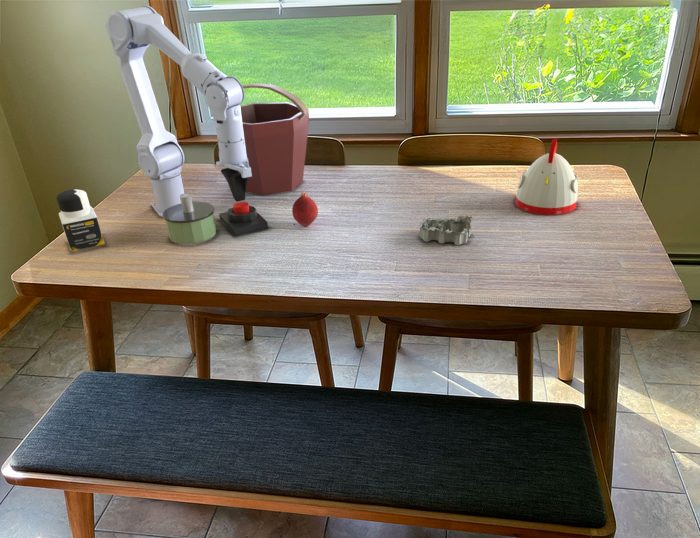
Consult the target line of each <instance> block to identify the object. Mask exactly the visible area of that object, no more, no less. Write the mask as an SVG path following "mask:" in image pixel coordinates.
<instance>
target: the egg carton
mask: <svg viewBox="0 0 700 538" xmlns="http://www.w3.org/2000/svg"><path fill="white" fill-rule="evenodd" d="M472 221H473V217H472V216H468V215H461V216H459V215H458V216H457V218H454V217H450V218H443V217H441V218H436V219H435V218H432V219H431V217H425V218H423V220H422V221H420V224H419V238H420V239H422V240H423V242H426V243H427V242H430V241H437V242H438V244H445V243H454V245H455V246H460V245H463V244H467V242H468V238H470V236H471V231H472V226H471V223H472Z"/></svg>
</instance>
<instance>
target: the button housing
mask: <svg viewBox="0 0 700 538" xmlns="http://www.w3.org/2000/svg"><path fill="white" fill-rule="evenodd" d="M249 210H250V211H249V212H248V213H244V214H235V213H234V210H233V206H232V207H231V208H228V209H227V211H224V212H220V213H219V212H218V217H219V221H220V223H222V225H223V226H224V227H226V229H227V230H228V231H229V232H230V233H231V234H232V235H233V236H234V237H239V236H242V235H243V236H244V235H248V234H252V233H255V232H260V231H264V230H268V229H269V225H268V221H267V220H266V219H265V218H264V217H263V215H261V214H260V213H258V211H257V208H256V207H255V206H253V205H249Z"/></svg>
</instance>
